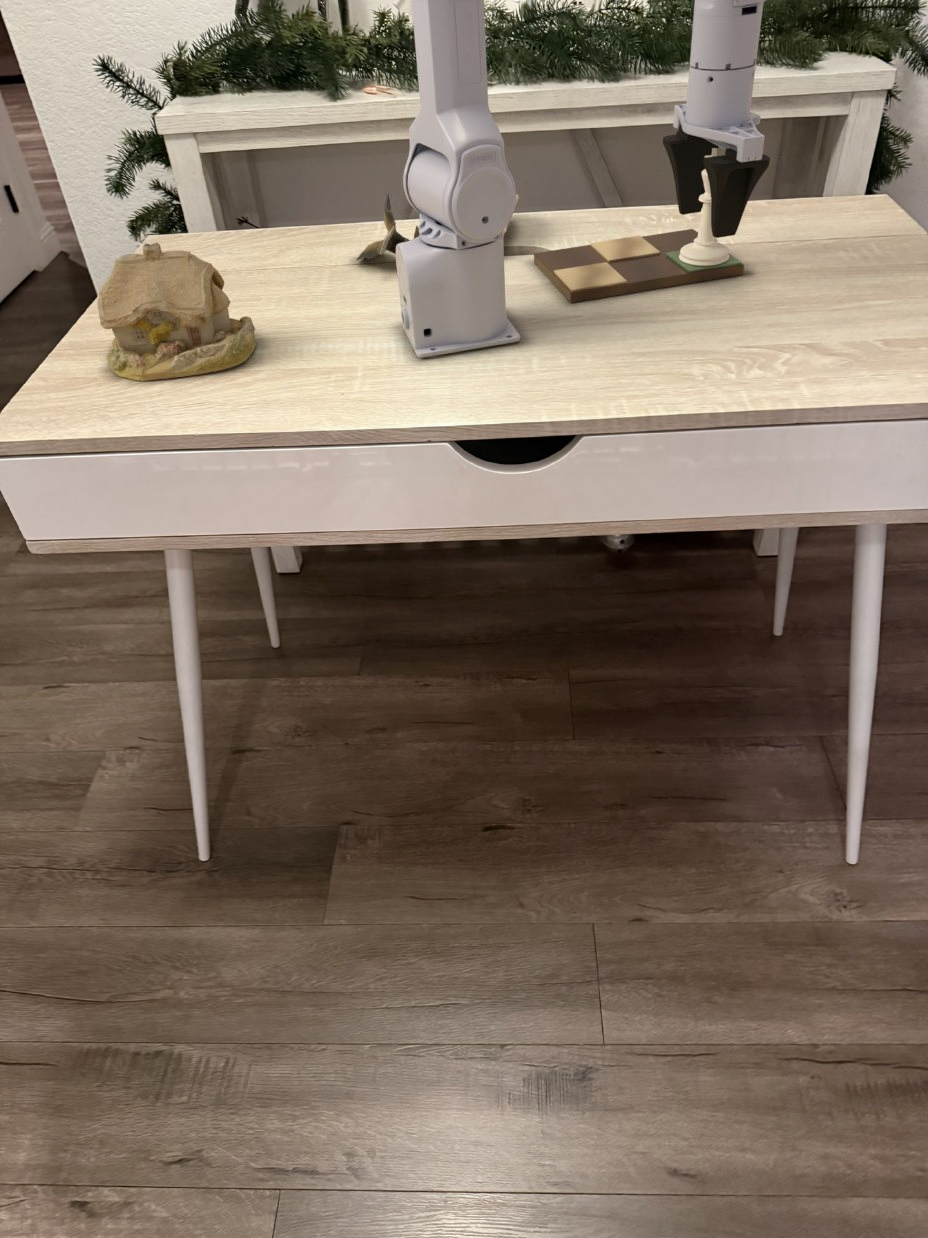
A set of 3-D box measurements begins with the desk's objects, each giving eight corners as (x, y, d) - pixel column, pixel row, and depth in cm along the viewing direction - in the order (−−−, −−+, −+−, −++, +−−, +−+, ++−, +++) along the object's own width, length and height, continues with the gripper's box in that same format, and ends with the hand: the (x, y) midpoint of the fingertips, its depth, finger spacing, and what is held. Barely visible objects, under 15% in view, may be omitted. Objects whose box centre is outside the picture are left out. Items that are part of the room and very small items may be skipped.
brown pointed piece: (453, 248, 99) (401, 216, 103) (427, 202, 93) (373, 170, 97) (407, 301, 99) (357, 268, 103) (377, 259, 93) (325, 225, 97)
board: (570, 302, 88) (570, 290, 88) (533, 262, 97) (533, 251, 97) (743, 274, 91) (744, 262, 90) (691, 237, 100) (692, 226, 99)
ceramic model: (89, 384, 82) (48, 271, 75) (128, 332, 90) (95, 227, 84) (243, 376, 81) (216, 261, 74) (268, 325, 89) (246, 218, 83)
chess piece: (677, 249, 94) (686, 142, 88) (727, 248, 93) (739, 140, 87) (679, 266, 90) (689, 156, 84) (731, 265, 90) (744, 154, 83)
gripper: (806, 72, 76) (780, 240, 85) (727, 46, 87) (711, 197, 96) (727, 82, 75) (710, 251, 84) (657, 55, 86) (648, 207, 95)
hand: (706, 223), depth 90 cm, fingers open, 7 cm apart
